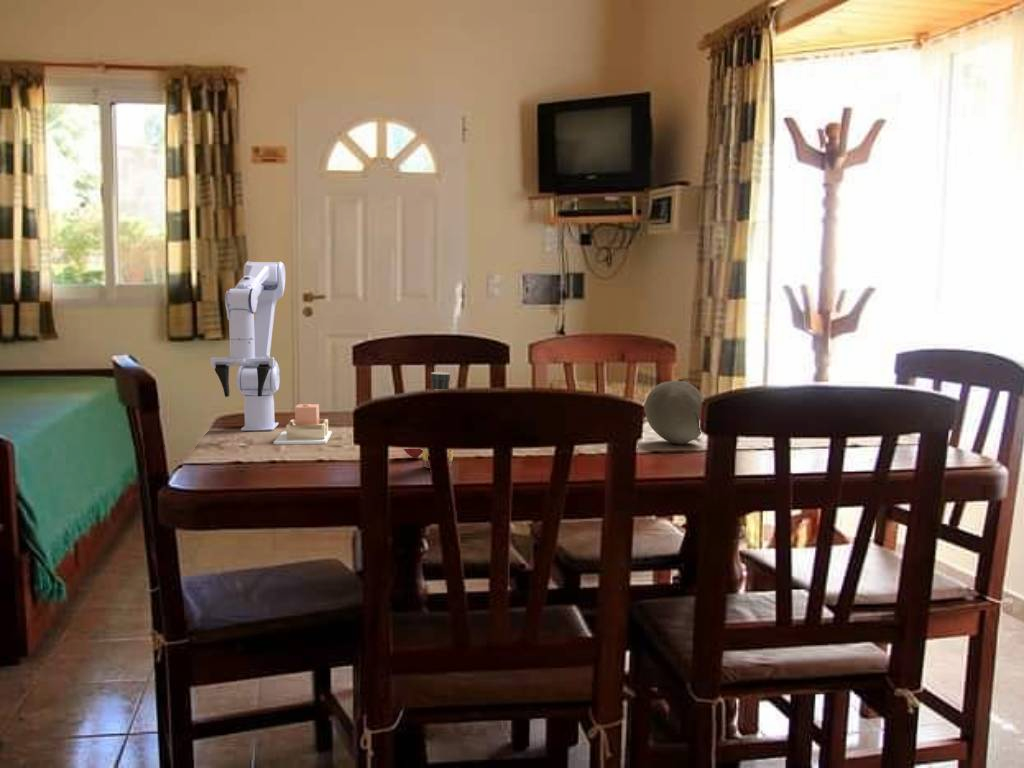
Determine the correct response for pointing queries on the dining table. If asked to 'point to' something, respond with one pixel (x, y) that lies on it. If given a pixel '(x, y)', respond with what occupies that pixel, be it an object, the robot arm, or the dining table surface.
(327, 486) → the dining table surface
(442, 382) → the sauce bottle
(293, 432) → the birch tray
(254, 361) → the robot arm
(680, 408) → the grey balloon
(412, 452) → the onion
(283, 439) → the white board
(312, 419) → the terracotta block
